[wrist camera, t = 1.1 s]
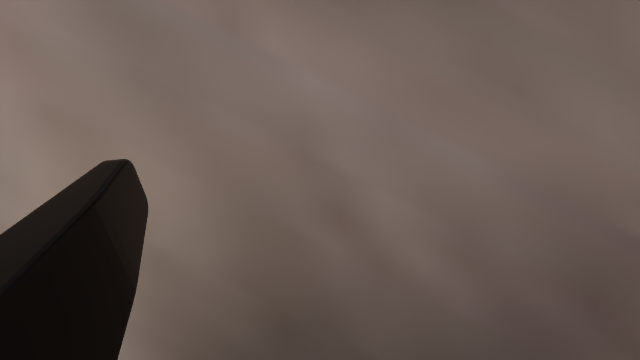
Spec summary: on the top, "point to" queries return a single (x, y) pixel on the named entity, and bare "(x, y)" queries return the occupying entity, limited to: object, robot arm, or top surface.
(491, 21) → the top surface
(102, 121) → the top surface
